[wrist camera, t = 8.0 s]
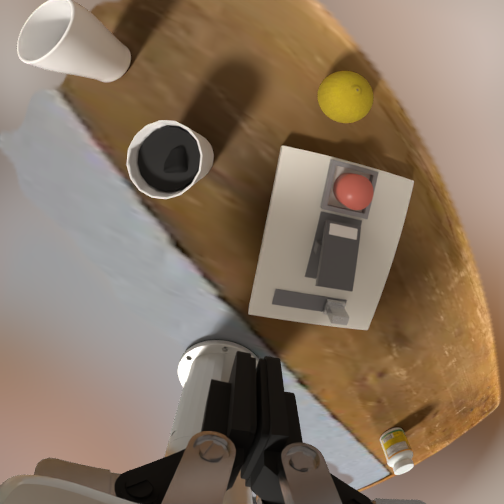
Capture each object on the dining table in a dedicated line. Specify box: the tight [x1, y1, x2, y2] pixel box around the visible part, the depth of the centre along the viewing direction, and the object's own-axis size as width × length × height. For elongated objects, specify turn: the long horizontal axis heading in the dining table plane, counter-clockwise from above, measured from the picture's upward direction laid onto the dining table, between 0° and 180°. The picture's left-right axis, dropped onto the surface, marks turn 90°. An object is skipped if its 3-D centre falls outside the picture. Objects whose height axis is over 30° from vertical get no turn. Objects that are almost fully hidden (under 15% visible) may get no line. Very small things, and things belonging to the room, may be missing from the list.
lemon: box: [318, 71, 373, 123], centre depth 27 cm, size 6×6×8 cm
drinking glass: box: [17, 0, 131, 82], centre depth 21 cm, size 7×7×15 cm
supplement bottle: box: [380, 427, 414, 475], centre depth 43 cm, size 5×5×10 cm
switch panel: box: [248, 146, 414, 330], centre depth 34 cm, size 20×16×4 cm
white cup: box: [127, 120, 214, 199], centre depth 28 cm, size 7×7×10 cm
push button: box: [333, 173, 374, 210], centre depth 30 cm, size 4×4×3 cm
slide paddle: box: [323, 299, 349, 325], centre depth 34 cm, size 2×2×3 cm
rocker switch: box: [315, 220, 361, 291], centre depth 31 cm, size 7×4×1 cm, turn 170°
